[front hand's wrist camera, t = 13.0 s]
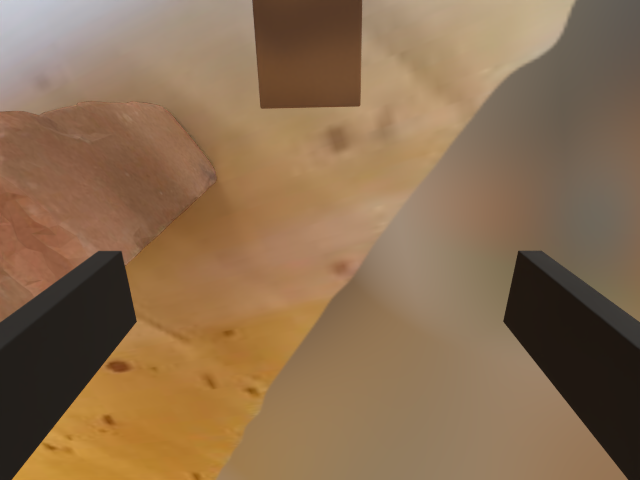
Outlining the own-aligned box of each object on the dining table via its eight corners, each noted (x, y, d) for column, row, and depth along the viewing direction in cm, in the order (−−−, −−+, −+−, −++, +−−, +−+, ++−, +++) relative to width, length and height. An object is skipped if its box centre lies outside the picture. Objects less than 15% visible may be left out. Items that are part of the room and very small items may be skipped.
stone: (97, 270, 50) (-141, 463, 23) (28, 201, 46) (-342, 337, 20) (225, 177, 46) (115, 280, 19) (160, 95, 42) (-79, 86, 16)
